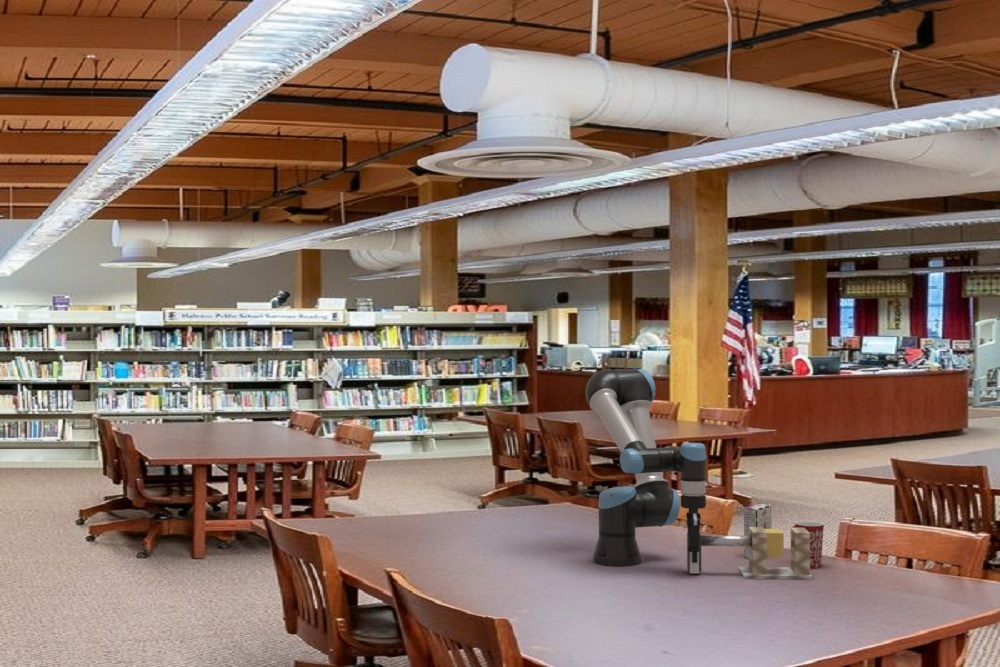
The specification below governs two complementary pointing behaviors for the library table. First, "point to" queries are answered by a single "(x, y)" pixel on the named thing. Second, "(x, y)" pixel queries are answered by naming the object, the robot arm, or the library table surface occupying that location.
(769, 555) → the spacer
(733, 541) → the shaft
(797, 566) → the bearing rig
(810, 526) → the mug
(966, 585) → the library table surface
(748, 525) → the candy bar box
